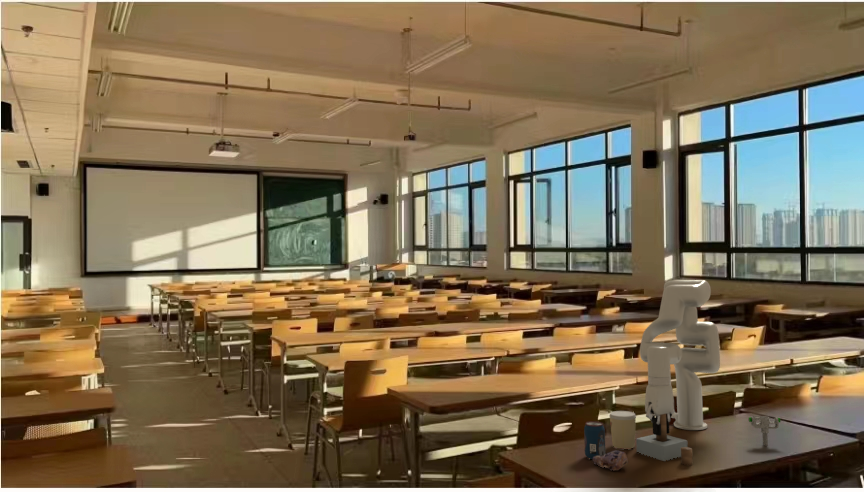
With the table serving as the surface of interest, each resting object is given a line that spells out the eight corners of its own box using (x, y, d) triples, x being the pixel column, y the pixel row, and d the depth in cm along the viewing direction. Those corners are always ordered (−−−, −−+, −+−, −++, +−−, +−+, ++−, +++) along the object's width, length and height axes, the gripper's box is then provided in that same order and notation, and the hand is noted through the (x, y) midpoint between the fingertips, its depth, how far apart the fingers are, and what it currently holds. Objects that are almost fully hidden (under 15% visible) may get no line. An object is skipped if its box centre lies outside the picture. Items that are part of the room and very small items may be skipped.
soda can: (587, 454, 231) (586, 420, 231) (607, 456, 228) (606, 421, 228) (583, 459, 225) (581, 424, 225) (603, 462, 222) (602, 426, 222)
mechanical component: (782, 446, 234) (780, 418, 234) (751, 445, 236) (750, 417, 236) (779, 444, 236) (778, 416, 237) (749, 443, 239) (747, 415, 239)
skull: (588, 466, 218) (587, 447, 219) (602, 461, 223) (602, 443, 223) (618, 474, 209) (618, 455, 209) (633, 469, 214) (632, 450, 214)
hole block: (636, 452, 231) (636, 438, 231) (660, 446, 237) (659, 433, 237) (664, 461, 221) (663, 446, 221) (687, 455, 227) (687, 440, 227)
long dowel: (654, 441, 229) (653, 406, 230) (661, 439, 231) (659, 405, 232) (662, 443, 226) (661, 408, 227) (669, 441, 228) (667, 407, 229)
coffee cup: (618, 441, 246) (617, 409, 246) (641, 446, 239) (640, 413, 239) (605, 447, 239) (604, 414, 239) (628, 451, 232) (627, 418, 233)
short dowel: (679, 463, 218) (678, 448, 218) (686, 461, 220) (685, 446, 220) (687, 466, 215) (687, 450, 215) (695, 464, 217) (694, 448, 217)
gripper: (666, 377, 237) (668, 428, 236) (634, 382, 229) (636, 435, 228) (684, 380, 230) (685, 432, 230) (651, 385, 222) (653, 439, 222)
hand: (661, 433), depth 229 cm, fingers closed on long dowel, 3 cm apart
